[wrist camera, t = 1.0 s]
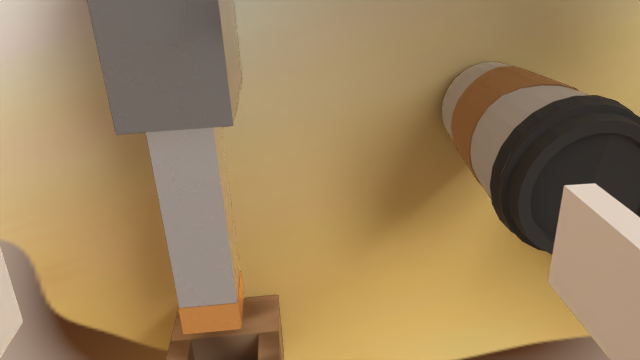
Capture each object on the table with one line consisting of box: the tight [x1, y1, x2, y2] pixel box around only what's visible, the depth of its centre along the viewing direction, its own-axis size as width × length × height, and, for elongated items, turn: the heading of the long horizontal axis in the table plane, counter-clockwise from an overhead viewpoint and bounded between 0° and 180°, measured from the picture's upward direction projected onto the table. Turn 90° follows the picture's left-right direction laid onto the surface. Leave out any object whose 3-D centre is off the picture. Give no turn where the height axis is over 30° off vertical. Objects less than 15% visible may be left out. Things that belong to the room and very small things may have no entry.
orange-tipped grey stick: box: [146, 127, 244, 334], centre depth 32 cm, size 4×25×4 cm, turn 3°
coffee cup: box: [442, 62, 640, 254], centre depth 33 cm, size 8×8×15 cm
